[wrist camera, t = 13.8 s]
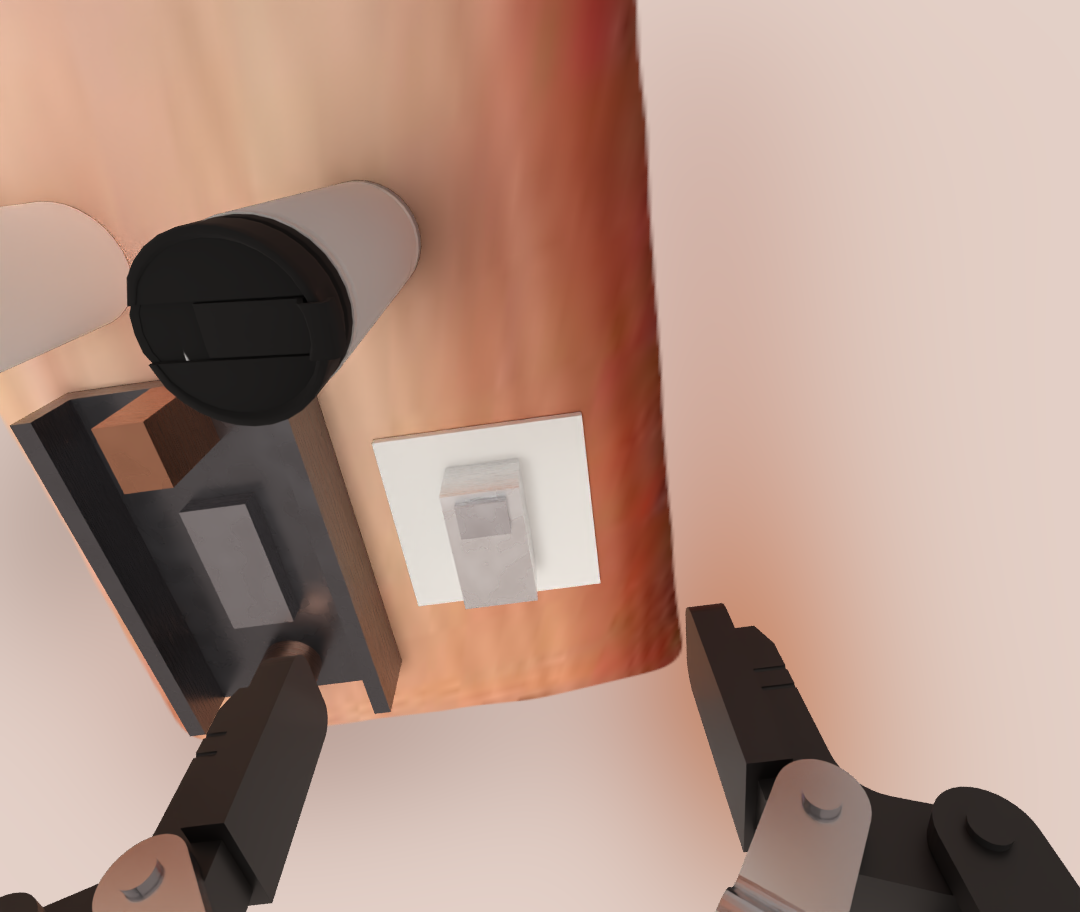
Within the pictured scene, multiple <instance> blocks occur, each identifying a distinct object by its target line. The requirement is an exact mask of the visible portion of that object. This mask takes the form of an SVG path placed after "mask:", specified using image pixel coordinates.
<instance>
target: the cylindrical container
mask: <svg viewBox="0 0 1080 912" xmlns="http://www.w3.org/2000/svg"><path fill="white" fill-rule="evenodd" d="M129 270H130V269H129V265H128V262H127V260H126V258H125V256H124V253H123V251H122V250H121V248H120V247H119V245H118V244H117V242H116V241H115V239H114V238H113V237H112V236H111V235H110V234H109V233H108V231H107V230H106V229H105V228H104V227H103V226H101V225H100V224H99V223H98V222H97V221H95V220H94V219H93V218H92V217H90V216H88V215H86V214H85V213H83V212H81V211H80V210H78V209H75V208H72V207H70V206H67V205H65V204H60V203H55V202H32V203H25V204H17V205H10V206H2V207H0V373H1V372H3V371H5V370H8V369H10V368H12V367H14V366H16V365H19V364H21V363H23V362H25V361H27V360H30V359H32V358H34V357H36V356H38V355H41V354H43V353H45V352H47V351H50V350H52V349H54V348H56V347H58V346H61V345H63V344H65V343H67V342H69V341H72V340H74V339H76V338H78V337H80V336H83V335H85V334H87V333H89V332H91V331H94V330H96V329H98V328H100V327H103V326H105V325H107V324H109V323H111V322H113V321H114V320H115V319H117V318H118V317H119V316H120V315H121V314H122V313H123V312H124V310H125V309H126V308H127V279H126V278H127V276H128V273H129Z"/></svg>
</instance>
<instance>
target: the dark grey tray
mask: <svg viewBox="0 0 1080 912" xmlns="http://www.w3.org/2000/svg"><path fill="white" fill-rule="evenodd" d="M10 427H11V429H12V430H13V432H14V434H15V435H16V437H17V439H18V441H19V442H20V444H21V446H22V447H23V449H24V451H25V453H26V454H27V456H28V458H29V460H30V461H31V463H32V465H33V466H34V468H35V470H36V472H37V473H38V475H39V477H40V479H41V480H42V482H43V484H44V485H45V487H46V489H47V491H48V492H49V494H50V496H51V497H52V499H53V501H54V503H55V504H56V506H57V508H58V510H59V511H60V513H61V515H62V516H63V518H64V520H65V522H66V523H67V525H68V527H69V528H70V530H71V532H72V534H73V535H74V537H75V539H76V541H77V542H78V544H79V546H80V547H81V549H82V551H83V553H84V554H85V556H86V558H87V559H88V561H89V563H90V565H91V566H92V568H93V570H94V572H95V573H96V575H97V577H98V578H99V580H100V582H101V584H102V585H103V587H104V589H105V590H106V592H107V594H108V596H109V597H110V599H111V601H112V603H113V604H114V606H115V608H116V609H117V611H118V613H119V615H120V616H121V618H122V620H123V621H124V623H125V625H126V627H127V628H128V630H129V632H130V634H131V635H132V637H133V639H134V640H135V642H136V644H137V646H138V647H139V649H140V651H141V652H142V654H143V656H144V658H145V659H146V661H147V663H148V665H149V666H150V668H151V670H152V671H153V673H154V675H155V677H156V678H157V680H158V682H159V683H160V685H161V687H162V689H163V690H164V692H165V694H166V696H167V697H168V699H169V701H170V702H171V704H172V706H173V708H174V709H175V711H176V713H177V715H178V716H179V718H180V720H181V721H182V723H183V725H184V727H185V728H186V730H187V732H188V733H189V735H190V736H196V735H204V734H206V733H207V731H208V729H209V727H210V725H211V723H212V721H213V719H214V717H215V715H216V713H217V712H218V710H219V708H220V706H221V704H222V702H223V700H224V698H225V697H230V696H232V695H233V694H234V693H235V692H236V691H237V690H238V689H239V688H245V687H249V686H250V684H251V682H252V680H253V678H254V675H255V673H256V671H257V669H258V667H259V665H260V664H261V663H262V661H264V660H265V659H270V658H278V657H286V656H294V655H303V656H304V657H305V658H306V659H307V661H308V663H309V666H310V668H311V671H312V673H313V675H314V678H315V680H316V683H317V685H318V686H319V685H327V684H335V683H343V682H351V681H359V680H363V683H364V686H365V688H366V691H367V694H368V696H369V699H370V702H371V705H372V707H373V710H374V713H375V714H377V713H385V712H391V708H392V703H393V699H394V694H395V690H396V685H397V681H398V676H399V672H400V667H401V662H402V661H401V658H400V655H399V652H398V648H397V645H396V642H395V639H394V636H393V633H392V630H391V627H390V624H389V620H388V617H387V614H386V611H385V608H384V605H383V602H382V599H381V596H380V592H379V589H378V586H377V583H376V580H375V577H374V574H373V571H372V568H371V564H370V561H369V558H368V555H367V552H366V549H365V546H364V543H363V540H362V536H361V533H360V530H359V527H358V524H357V521H356V518H355V515H354V512H353V508H352V505H351V502H350V499H349V496H348V493H347V490H346V487H345V484H344V480H343V477H342V474H341V471H340V468H339V465H338V462H337V459H336V456H335V452H334V449H333V446H332V443H331V440H330V437H329V434H328V431H327V428H326V424H325V421H324V418H323V415H322V412H321V409H320V406H319V403H318V400H317V396H316V397H315V398H314V399H313V400H312V401H311V402H310V403H309V404H308V405H307V406H306V408H305V409H304V410H303V411H301V412H299V413H298V414H296V415H294V416H293V417H291V418H289V419H287V420H284V421H281V422H278V423H275V424H272V425H264V426H241V425H234V424H230V423H226V422H222V421H218V420H216V419H213V418H211V417H209V416H206V415H204V414H201V413H199V412H198V411H196V410H194V409H193V408H191V407H189V406H188V405H186V404H185V403H183V402H182V401H180V400H179V399H178V398H177V397H175V396H174V395H173V394H172V393H171V392H169V391H168V390H167V389H166V388H165V387H164V385H163V384H162V382H161V381H160V380H157V381H150V382H143V383H136V384H129V385H122V386H114V387H107V388H100V389H93V390H86V391H79V392H72V393H67V394H65V395H63V396H61V397H59V398H58V399H56V400H54V401H52V402H51V403H49V404H47V405H45V406H44V407H42V408H40V409H38V410H37V411H35V412H33V413H31V414H29V415H28V416H26V417H24V418H22V419H21V420H19V421H17V422H15V423H14V424H12V425H10Z"/></svg>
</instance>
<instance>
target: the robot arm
mask: <svg viewBox="0 0 1080 912" xmlns="http://www.w3.org/2000/svg"><path fill="white" fill-rule="evenodd" d="M686 643H687V666H688V672H689V678H690V683H691V688H692V691H693V695H694V698H695V701H696V704H697V707H698V711H699V713H700V717H701V720H702V723H703V726H704V729H705V733H706V736H707V739H708V742H709V745H710V748H711V751H712V754H713V758H714V761H715V764H716V767H717V770H718V773H719V777H720V780H721V783H722V786H723V789H724V792H725V795H726V799H727V802H728V805H729V808H730V811H731V814H732V817H733V820H734V824H735V827H736V830H737V833H738V836H739V839H740V842H741V846H742V849H743V852H748V853H747V855H746V858H745V860H744V863H743V865H742V868H741V871H740V873H739V876H738V878H737V880H736V882H735V885H734V886H733V887H732V888H731V887H728V888H727V889H726V891H725V893H724V894H723V896H722V898H721V900H720V903H719V905H718V907H717V909H716V912H1080V887H1079V886H1078V884H1077V883H1076V881H1075V880H1074V878H1073V877H1072V876H1071V874H1070V873H1069V872H1068V870H1067V868H1066V867H1065V865H1064V864H1063V863H1062V861H1061V860H1060V858H1059V857H1058V855H1057V854H1056V852H1055V851H1054V850H1053V848H1052V847H1051V845H1050V844H1049V842H1048V841H1047V839H1046V838H1045V836H1044V835H1043V834H1042V832H1041V831H1040V829H1039V828H1038V827H1037V825H1036V824H1035V823H1034V822H1033V821H1032V820H1031V819H1030V818H1029V816H1028V815H1027V814H1026V813H1024V812H1023V811H1022V810H1021V809H1019V808H1018V807H1017V806H1016V805H1014V804H1012V803H1011V802H1009V801H1008V800H1006V799H1004V798H1002V797H1001V796H999V795H996V794H994V793H991V792H989V791H986V790H982V789H979V788H973V787H956V788H951V789H949V790H946V791H944V792H943V793H941V794H940V795H939V796H938V797H937V799H936V801H935V803H934V804H929V803H923V802H918V801H912V800H907V799H902V798H897V797H892V796H888V795H884V794H880V793H877V792H875V791H872V790H870V789H868V788H866V787H864V786H862V785H861V784H859V783H858V782H857V781H856V779H855V778H853V777H852V776H851V775H850V774H849V773H847V772H846V771H844V770H843V769H841V768H840V767H839V766H838V765H837V763H836V762H835V761H834V759H833V757H832V756H831V754H830V752H829V750H828V749H827V746H826V744H825V743H824V740H823V738H822V737H821V735H820V733H819V731H818V729H817V727H816V725H815V723H814V721H813V719H812V717H811V715H810V713H809V711H808V709H807V707H806V705H805V703H804V701H803V699H802V697H801V695H800V693H799V691H798V689H797V688H795V685H794V682H793V680H792V678H791V676H790V674H789V672H788V670H787V669H786V668H785V664H784V662H783V660H782V658H781V656H780V654H779V653H778V650H777V648H776V646H775V644H774V643H773V642H772V641H771V640H770V639H768V638H767V637H766V636H765V635H764V634H762V632H760V631H759V630H758V629H757V628H756V627H755V626H749V627H741V628H734V625H733V623H732V620H731V618H730V616H729V614H728V612H727V609H726V607H725V606H724V604H722V603H720V604H712V605H703V606H695V607H688V608H686ZM327 722H328V717H327V708H326V705H325V702H324V699H323V697H322V695H321V692H320V690H319V687H318V685H317V683H316V680H315V678H314V675H313V673H312V671H311V668H310V666H309V663H308V661H307V659H306V658H305V657H304V656H303V655H294V656H286V657H278V658H270V659H265V660H264V661H262V663H261V664H260V665H259V667H258V669H257V671H256V673H255V675H254V678H253V680H252V682H251V684H250V686H249V687H245V688H239V689H238V690H237V691H236V692H235V693H234V694H233V695H232V696H231V697H230V698H229V700H228V701H227V702H226V703H225V704H224V705H223V706H222V707H221V708H220V709H219V710H218V712H217V714H216V716H215V718H214V720H213V722H212V724H211V726H210V727H209V729H208V731H207V733H206V738H205V739H203V741H202V743H201V745H200V747H199V749H198V750H197V752H196V758H194V759H193V760H192V762H191V764H190V766H189V768H188V770H187V772H186V774H185V775H184V777H183V779H182V781H181V783H180V785H179V787H178V789H177V791H176V793H175V795H174V796H173V798H172V800H171V802H170V804H169V806H168V808H167V810H166V812H165V814H164V816H163V818H162V820H161V821H160V823H159V825H158V827H157V829H156V831H155V833H154V834H153V836H152V837H150V838H148V839H146V840H143V841H141V842H140V843H138V844H136V845H135V846H133V847H132V848H130V849H129V850H128V851H126V852H125V853H124V854H123V855H121V856H120V857H119V858H118V859H117V860H116V861H115V862H114V863H113V864H112V865H111V867H110V868H109V869H108V870H107V872H106V873H105V875H104V876H103V877H102V879H101V881H100V882H99V884H96V885H94V886H92V887H90V888H88V889H85V890H83V891H81V892H78V893H76V894H73V895H71V896H68V897H66V898H64V899H61V900H59V901H56V902H54V903H52V904H49V905H47V906H45V907H42V906H41V905H40V904H39V903H38V902H37V901H36V899H35V898H34V897H33V896H32V895H30V894H27V893H12V894H8V895H5V896H3V897H0V912H246V910H247V908H248V906H250V905H258V904H268V903H272V902H273V899H274V896H275V892H276V889H277V886H278V883H279V880H280V877H281V874H282V871H283V867H284V864H285V861H286V858H287V855H288V852H289V849H290V846H291V842H292V839H293V836H294V833H295V830H296V827H297V824H298V821H299V817H300V814H301V811H302V808H303V805H304V802H305V799H306V795H307V792H308V789H309V786H310V783H311V779H312V777H313V774H314V771H315V767H316V764H317V761H318V758H319V755H320V752H321V749H322V745H323V742H324V739H325V736H326V732H327Z"/></svg>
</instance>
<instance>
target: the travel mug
mask: <svg viewBox="0 0 1080 912" xmlns="http://www.w3.org/2000/svg"><path fill="white" fill-rule="evenodd" d="M420 251H421V236H420V232H419V228H418V224H417V222H416V220H415V217H414V215H413V213H412V212H411V210H410V209H409V207H408V206H407V204H406V203H405V202H404V201H403V200H402V199H401V198H400V197H399V196H398V195H396V194H395V193H394V192H392V191H391V190H390V189H388V188H386V187H384V186H382V185H380V184H377V183H373V182H369V181H357V180H355V181H349V182H344V183H340V184H336V185H332V186H328V187H324V188H320V189H316V190H312V191H308V192H304V193H300V194H296V195H292V196H288V197H284V198H280V199H276V200H272V201H268V202H264V203H260V204H256V205H252V206H248V207H244V208H240V209H236V210H232V211H228V212H225V213H221V214H216V215H213V216H211V217H209V218H206V219H204V220H201V221H197V222H193V223H189V224H185V225H182V226H178V227H174V228H172V229H170V230H168V231H165V232H163V233H161V234H159V235H157V236H156V237H155V238H153V239H152V240H151V241H150V242H148V243H147V244H146V245H145V246H143V248H142V249H141V251H140V252H139V253H138V255H137V256H136V258H135V259H134V260H133V263H132V265H131V268H130V270H129V273H128V276H127V278H126V279H127V306H131V309H130V319H131V323H132V326H133V330H134V334H135V336H136V338H137V341H138V343H139V345H140V347H141V349H142V351H143V353H144V354H145V355H146V357H147V358H148V359H149V360H150V361H151V362H152V364H150V365H149V366H150V367H151V369H152V370H153V371H154V373H155V374H156V376H157V377H158V378H159V380H160V381H161V382H162V384H163V385H164V387H165V388H166V389H167V390H168V391H169V392H171V393H172V394H173V395H174V396H175V397H177V398H178V399H179V400H180V401H182V402H183V403H185V404H186V405H188V406H189V407H191V408H193V409H194V410H196V411H198V412H199V413H201V414H204V415H206V416H209V417H211V418H213V419H216V420H218V421H222V422H226V423H230V424H234V425H241V426H264V425H272V424H275V423H278V422H281V421H284V420H287V419H289V418H291V417H293V416H294V415H296V414H298V413H299V412H301V411H303V410H304V409H305V408H306V406H307V405H308V404H309V403H310V402H311V401H312V400H313V399H314V398H315V397H316V396H317V394H318V393H319V392H320V391H321V389H322V388H323V387H324V385H325V384H326V383H327V382H328V380H329V379H330V378H331V377H332V376H333V375H334V374H335V373H336V372H337V371H338V370H339V369H340V368H341V366H342V365H343V363H344V362H345V361H346V360H347V359H348V357H349V356H350V355H351V353H352V352H353V351H354V350H355V348H356V347H357V346H358V344H359V343H360V342H361V340H362V339H363V338H364V337H365V335H366V334H367V333H368V331H369V330H370V329H371V327H372V326H373V325H374V324H375V322H376V321H377V320H378V318H379V317H380V316H381V314H382V313H383V312H384V311H385V309H386V308H387V307H388V305H389V304H390V303H391V301H392V300H393V299H394V298H395V296H396V295H397V294H398V292H399V291H400V290H401V289H402V287H403V286H404V285H405V283H406V282H407V281H408V279H409V278H410V277H411V275H412V274H413V272H414V270H415V269H416V266H417V264H418V261H419V258H420Z"/></svg>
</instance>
